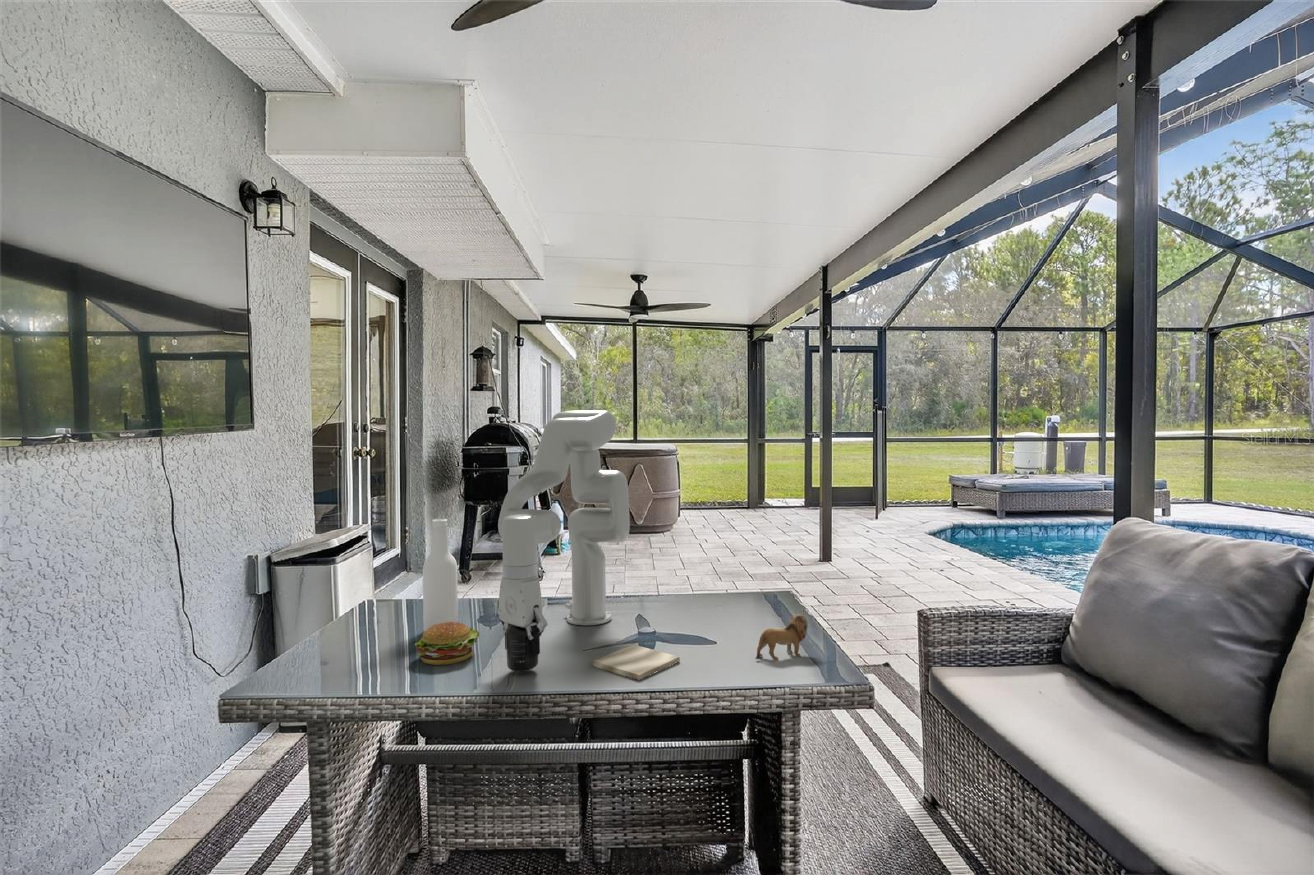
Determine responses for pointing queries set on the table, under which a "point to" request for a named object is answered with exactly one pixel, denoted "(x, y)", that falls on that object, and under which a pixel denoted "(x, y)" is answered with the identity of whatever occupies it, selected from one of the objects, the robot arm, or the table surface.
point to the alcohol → (439, 580)
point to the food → (446, 643)
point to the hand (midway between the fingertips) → (522, 651)
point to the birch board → (635, 661)
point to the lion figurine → (784, 636)
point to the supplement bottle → (518, 649)
